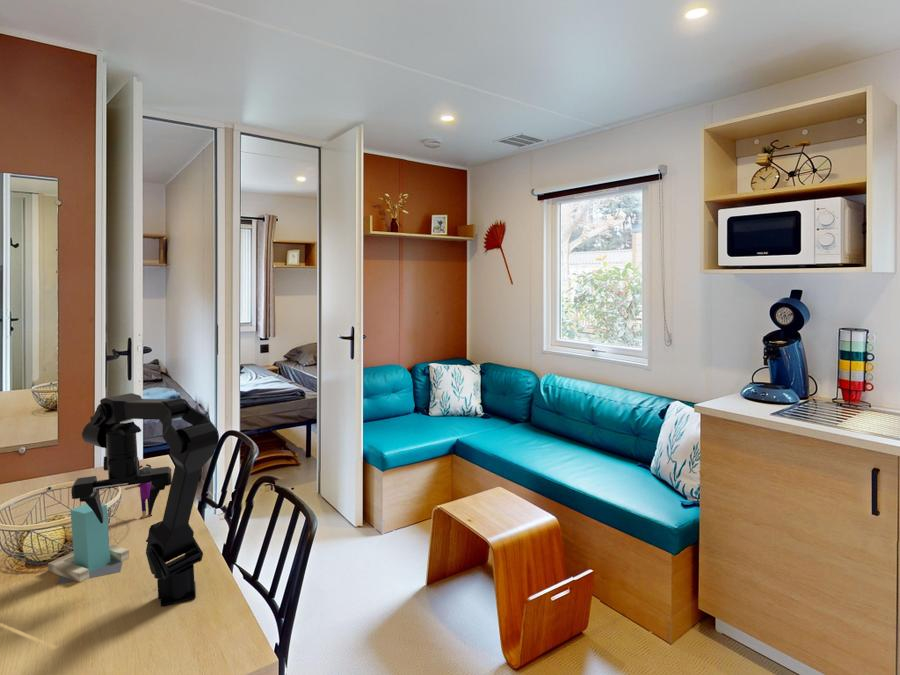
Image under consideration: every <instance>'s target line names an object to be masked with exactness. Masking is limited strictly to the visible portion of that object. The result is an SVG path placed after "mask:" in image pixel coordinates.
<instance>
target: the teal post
mask: <svg viewBox="0 0 900 675" xmlns="http://www.w3.org/2000/svg"><path fill="white" fill-rule="evenodd" d="M101 506H102V511H103V523H100V521H99V520H98V518H97V517H96V515H95V513H94V512H93V510H92V509H91V508H90V507H89V506H88V504H87V503H85V504H81V505H80V506H77V507H74V508H72V509H70V510H69V511H70V523H71V536H72V548H73V550H72V552H74V564H75V565H77V566H80V567H83V568H87V569H89V573H90V572H92V571H94V570H96V569H98V568H100V567H102V566H104V565H106V564H108V563H110V562H111V561H110V546H109V544H110V536H109V519H108V518H109V517H108V505H107V504H104V503H101Z"/></svg>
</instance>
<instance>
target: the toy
mask: <svg viewBox="0 0 900 675" xmlns="http://www.w3.org/2000/svg"><path fill="white" fill-rule="evenodd" d="M152 469H153V468H152V465H150V464H148V463H147V464H145V466H144V467H143V465H140V473H139V475H144V474H151V473H152ZM150 487H151V482H149V483H142V484H134V485H130V486H127V487H125V488H124V491H127V490H132V489H135V488H139V495H140V503H141V513H142V514H141V517H142V518H143V519H145V518H146V517H147V515H148V516H149V514H148V513H147V512H146V511H147V508H148V507H149V497H150ZM146 501H147V503H146ZM151 515H152V516H153V511H152V512H151ZM151 515H150V516H149V517H152V516H151Z"/></svg>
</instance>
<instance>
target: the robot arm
mask: <svg viewBox="0 0 900 675" xmlns="http://www.w3.org/2000/svg"><path fill="white" fill-rule="evenodd" d="M99 402H100V403H99V404H98V405H97V407H96V410H95V411H94V415H91V416H90V421H89V422H87V424H86V425H85V426H84V427H83V430H82V433H81V437H82V440H83V442H85V443H86V444H88V445H92V446H96V447H100V448H102V449H106V456H103V471H105V472H106V471H107V474H108V479H99V480H98V478H97V475H93V476H85V477H78V478H76V480H75V481H74V482H73V484H72V486H71V489H70V490H71V499H73V500H77V499H79V503H80V502H81V503H82V502H84V503H85V504H88V506H89V507H90V508H91V509H92V510H93V512H94V513H95V515H96V517H97V518H98V520H99V521H100V523H103V511H102V506H101V504H102V503H101V496H100V495H101V494H100V490H104V489H112V488H118V487H125V486H127V487H128V486H135V485H139V484H142V483H149V482H151V487H150V497H149V507H148V506H147V515H148V514H149V515H148V516H149V517H151V516H150V515H151V512H152V513H153V508H154V505H155V502H156V499H157V497H158V496H159V494H160V491H163V490H165V489H166V487H167V486H168V487H169V486H170V487H169V491H168V495H167V500H166V505H165V508H164V513H163V517H162V520H161V521H159V522H156V523H154V524H151V525H150V526H149V528H148V535H147V538H146V540H145V542H146V549H145V555H146V559H147V562H148V567H149V571H150V573H151V574H152V575H153V576H154V577H153V578H154V579H157V581H156V582H157V584H156V586H157V599H158V600H160V606H161V607H164V606H168V605H169V606H170V605H173V604H177V603H182V602H186V601H187V602H188V601H190V600H194V599H196V597H197V596H196V594H197V592H196V581H195V566H194V565H195V564H197V563H199V562H201V561H202V560H203V556H204V553H203V550H202V549H201V547H200V546H199V544H198V542H197V541H196V539H195V538H194V537H195V536H194V534H195V531H194V530H193V528H192V527H191V525H190V518H191V514H192V510H193V506H194V502H195V498H196V494H197V490H198V485H199V482H200V478H201V473H202V470H203V467H204V466H205V465H206V464H207V463H208V461H209V460H210V459H211V458H212V457H213V456H214V454H215V452H216V450H217V447H218V444H219V441H220V434H219V431H218V429H217V427H216V426H215V424H214V423H213V422H212V421H211V420H210V418H209V417H208V415H206V414H205V413H203V412H202V411H199V410H197V409H195V408H194V407H192V406H191V405H190V404H189V402H188V401H187V400H186V399H185V398H181V397H178V398H162V399H161V398H142V396H141V395H140V394H135V393H132V392H129V393H125V394H119V395H118V394H117V395H114V396H108V397H104V398H103V397H102V398H101V399H100V400H99ZM180 418H181V419H182V420H183V421H185V422H187V423H188V424H190V426H186V427H182V428H178V429H175V427H174V426H173V425H172V424H173V423H172V422H173V421H172V420H175V419H180ZM131 420H158V421H160V422H161V424H162V431H161V432H162V438H163V440H164V441H165V443H166V444H167V445H168V447H169V455H170V456H171V458H172V460H173V462H174V463H175V465H174V469H173V474H172V468H171V467H170V466H163V467H162V466H161V467H153V468H152V473H151V474H144V475H139V473H140V469H141V468H140V466H141V465H140V461H139V460H140V459H139V457H138V456H139V455H138V444H137V443H138V442H137V440H138V439H137V434H138V433H140V432H142V429H141V428H140V427H139V426H138V425H137V424H135V422H134V421H131ZM128 421H129V422H128ZM124 422H125V423H124Z"/></svg>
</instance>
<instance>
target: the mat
mask: <svg viewBox="0 0 900 675" xmlns="http://www.w3.org/2000/svg"><path fill="white" fill-rule="evenodd" d="M110 561H111V562H110V563H108V564H106V565H104V566H102V567H100V568H98V569H96V570H94V571H92V572H90V573H89V578H88V579H92V578H98V577H103V576H108V575H112V574H118V573H121V570H122V565H123V561H122V562H121V561H118V560H115V559H111V558H110ZM74 565H75V564H74ZM58 576H59V577H58V579H57V581H56V583H55V585H56V586H57V585H58V586H59V585H62V584H68V583H72V582H76V581H75V580H72V579H69V578H66V577H63V576H60V575H58Z"/></svg>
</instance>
